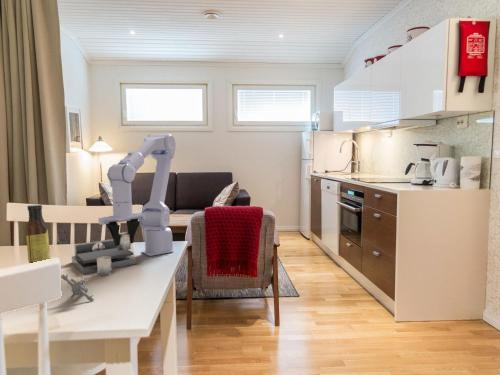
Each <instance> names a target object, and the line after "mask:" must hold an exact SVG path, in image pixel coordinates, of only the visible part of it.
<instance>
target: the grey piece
mask: <svg viewBox="0 0 500 375" xmlns="http://www.w3.org/2000/svg"><path fill="white" fill-rule="evenodd" d="M68 276H69V274H68V273H67V274H66V275H65V274H61V275H60V278H61V279H63V280H64V281H66V282H67V283H68V285H69V286H70V288H71V292H72V294H71V297H70V299H73V297H74V296H80V295H82V296H84V297H85V298H86V299H87V300H88V302H94V300H95V299H94V298H93V297H94V294H93V295H90V294H87V292H88V291H89V287H88V286H87V287H86V283H87V281H88V279H85V277H84V276H82V277H81V278H80V279H79V280H78V281H76V280H75V279H73V278H70V279H69V278H68Z"/></svg>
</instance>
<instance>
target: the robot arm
mask: <svg viewBox="0 0 500 375" xmlns="http://www.w3.org/2000/svg"><path fill="white" fill-rule="evenodd" d="M143 140H144V141H143V143H142V144H141V145H140V146H139V148H137V150H136V151H133V150H132V151H128V152H127V154H126V156H124V157H123V159H120V160H119V162H118V163H117V164H116V163H115V164H112V165H111V166H110V167H109V168H108V170H107V173H106V176H107V180H108V181H109V185H110V187H111V190H112V191H111V192H112V213H113V214H112V215H110V216H109V215H108V216H103V217H98V224H99V226H100V225H101V226H104V225H106V227H107V229H108V231H109V232H110V234H111V238H112V239H113V240H114V245H116V246H119V233H120V227H121V226H120V225H121V224H118V223H122V222H125V223H126V227H127V232H129V233H130V241H131V244H134V240H135V235H136V232H137V230H138V228H139V226H140V227H142V230H144V249H143V250H141V252H140V253H143V254H145V255H146V256H148V257H152V256H158V255H163V254H169V253H173V252H174V250H173V248H174V247H173V233H172V230H171V228H170V227H168V226H169V224H170V222H171V220H170V219H171V218H170V211H171V210H170V208H169V206H167V205H166V204H165V200H166V194H167V188H168V183H169V177H170V172H171V166H172V161H173V159H174V156H175V152H176V145H177V142H176V139H175V137H174V135H173V134H171V133H168V134H147V136H145V137H144V139H143ZM149 155H150V156H151V157H152V159H154V160H155V161H156V166H155V172H154V177H153V180H152V181H153V182H152V186H151V187H152V188H151V191H150V192H151V193H150V197H149V201H147V203H145V204H144V205H143V206H142V210H141V212H138V213H133V202H132V201H133V199H132V182H133V181H134V180H135V177H136V174H137V171H138V170H139V169H140V168H141V167H142V166H143V165H144V164H145V159H146V158H148V156H149Z"/></svg>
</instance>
